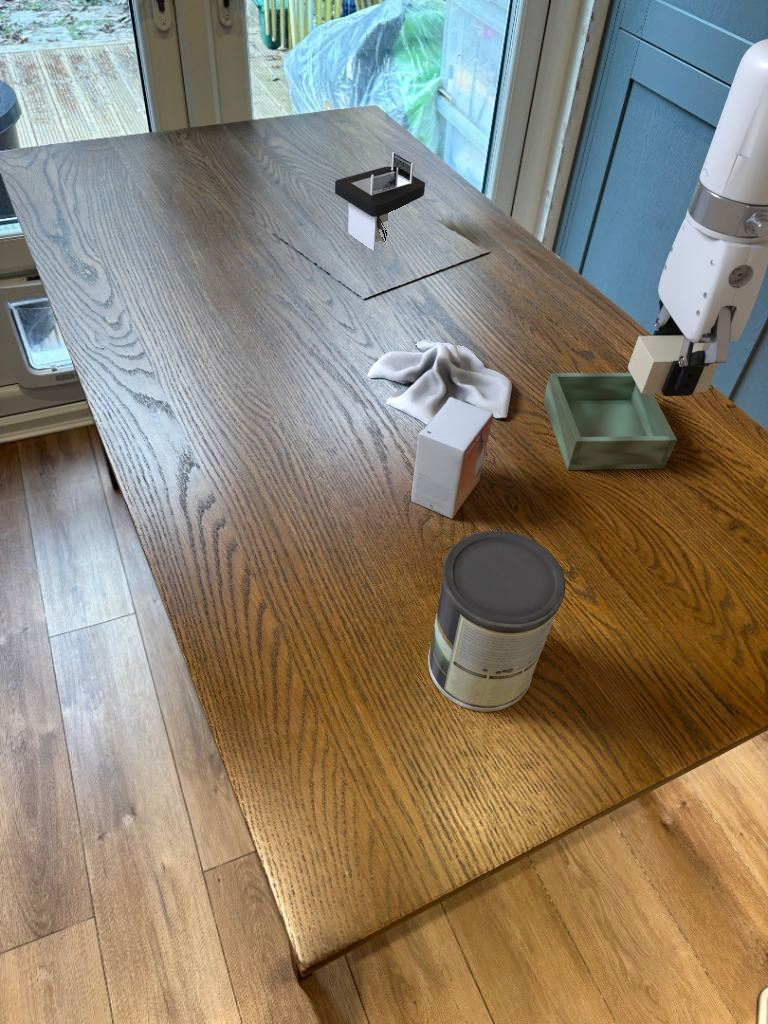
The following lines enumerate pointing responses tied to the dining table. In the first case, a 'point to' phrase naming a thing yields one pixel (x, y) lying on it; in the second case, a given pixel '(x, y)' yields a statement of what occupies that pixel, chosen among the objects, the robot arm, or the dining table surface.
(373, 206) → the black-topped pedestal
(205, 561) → the dining table surface
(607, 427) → the holder
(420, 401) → the cloth
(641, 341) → the cream rectangular block
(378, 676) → the dining table surface
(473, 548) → the coffee can
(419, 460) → the small box
